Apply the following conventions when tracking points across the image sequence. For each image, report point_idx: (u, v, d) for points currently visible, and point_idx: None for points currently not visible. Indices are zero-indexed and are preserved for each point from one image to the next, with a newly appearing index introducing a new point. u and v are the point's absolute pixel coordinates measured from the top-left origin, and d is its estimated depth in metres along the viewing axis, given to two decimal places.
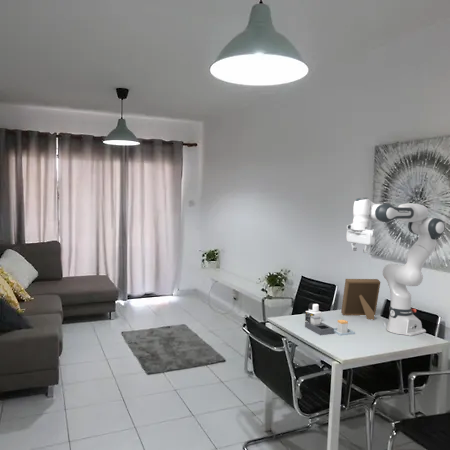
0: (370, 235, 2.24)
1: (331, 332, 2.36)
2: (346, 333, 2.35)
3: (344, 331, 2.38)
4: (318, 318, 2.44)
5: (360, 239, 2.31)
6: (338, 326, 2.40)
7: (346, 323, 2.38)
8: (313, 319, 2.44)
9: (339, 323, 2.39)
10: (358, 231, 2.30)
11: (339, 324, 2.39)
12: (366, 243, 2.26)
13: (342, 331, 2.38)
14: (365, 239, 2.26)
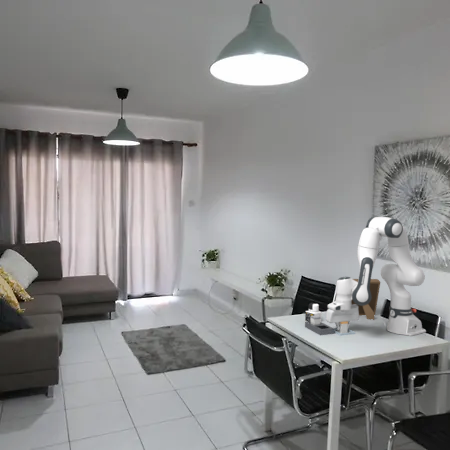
0: None
1: (331, 332, 2.36)
2: (346, 333, 2.35)
3: (344, 331, 2.38)
4: (318, 318, 2.44)
5: (347, 317, 2.39)
6: None
7: (346, 323, 2.38)
8: (313, 319, 2.44)
9: (339, 323, 2.39)
10: (348, 310, 2.37)
11: (339, 324, 2.39)
12: (355, 319, 2.41)
13: (342, 331, 2.38)
14: (354, 316, 2.40)
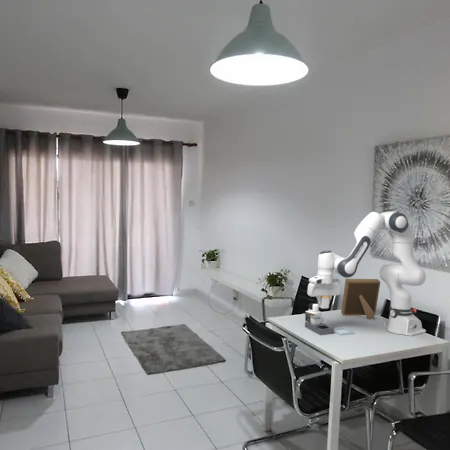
0: None
1: (331, 332, 2.36)
2: (346, 333, 2.35)
3: (325, 305, 2.36)
4: (318, 318, 2.44)
5: (329, 292, 2.37)
6: None
7: (327, 297, 2.36)
8: (313, 319, 2.44)
9: (320, 298, 2.37)
10: (329, 284, 2.35)
11: (320, 298, 2.37)
12: (336, 294, 2.39)
13: (323, 306, 2.35)
14: (335, 290, 2.38)
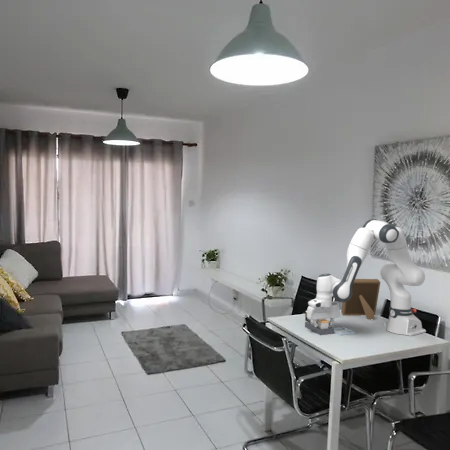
0: None
1: (331, 332, 2.36)
2: (346, 333, 2.35)
3: None
4: None
5: (328, 314, 2.37)
6: (319, 325, 2.39)
7: (327, 322, 2.37)
8: None
9: (320, 323, 2.38)
10: (328, 307, 2.36)
11: (320, 323, 2.38)
12: (336, 316, 2.39)
13: None
14: (335, 313, 2.39)
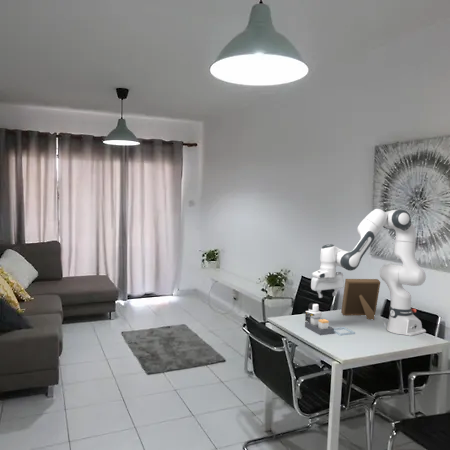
0: None
1: (331, 332, 2.36)
2: (346, 333, 2.35)
3: None
4: (318, 318, 2.44)
5: (332, 285, 2.38)
6: (319, 325, 2.39)
7: (327, 322, 2.37)
8: (313, 319, 2.44)
9: (320, 323, 2.38)
10: (332, 277, 2.37)
11: (320, 323, 2.38)
12: (340, 287, 2.41)
13: None
14: (339, 283, 2.40)
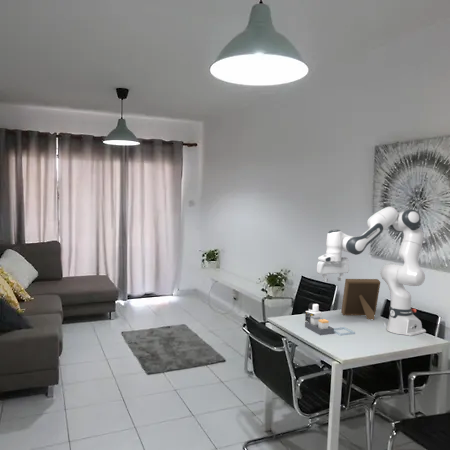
0: None
1: (331, 332, 2.36)
2: (346, 333, 2.35)
3: None
4: (318, 318, 2.44)
5: (337, 269, 2.44)
6: (319, 325, 2.39)
7: (327, 322, 2.37)
8: (313, 319, 2.44)
9: (320, 323, 2.38)
10: (338, 262, 2.42)
11: (320, 323, 2.38)
12: (345, 271, 2.46)
13: None
14: (344, 268, 2.45)
